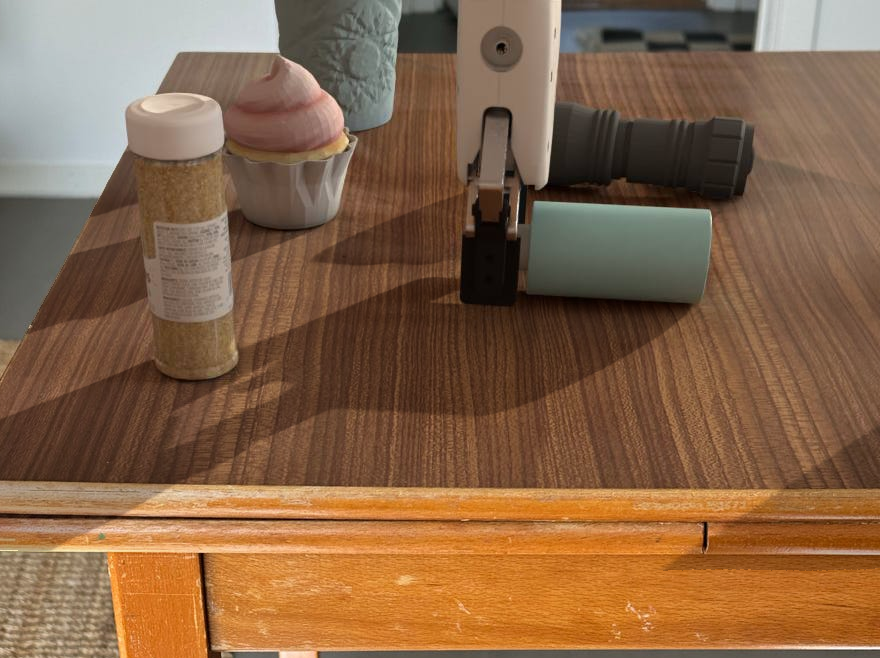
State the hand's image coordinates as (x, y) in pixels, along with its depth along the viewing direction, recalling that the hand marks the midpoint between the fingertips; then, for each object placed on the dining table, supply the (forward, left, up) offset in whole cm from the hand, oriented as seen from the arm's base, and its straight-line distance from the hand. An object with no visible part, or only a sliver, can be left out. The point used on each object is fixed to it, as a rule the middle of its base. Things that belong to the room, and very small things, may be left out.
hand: (493, 270), depth 78 cm
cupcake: (+17, +1, -1) cm, 18 cm away
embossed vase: (+30, -16, -1) cm, 35 cm away
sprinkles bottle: (+4, +19, -1) cm, 19 cm away
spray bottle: (-4, -3, -1) cm, 5 cm away
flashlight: (+4, -20, -1) cm, 20 cm away
